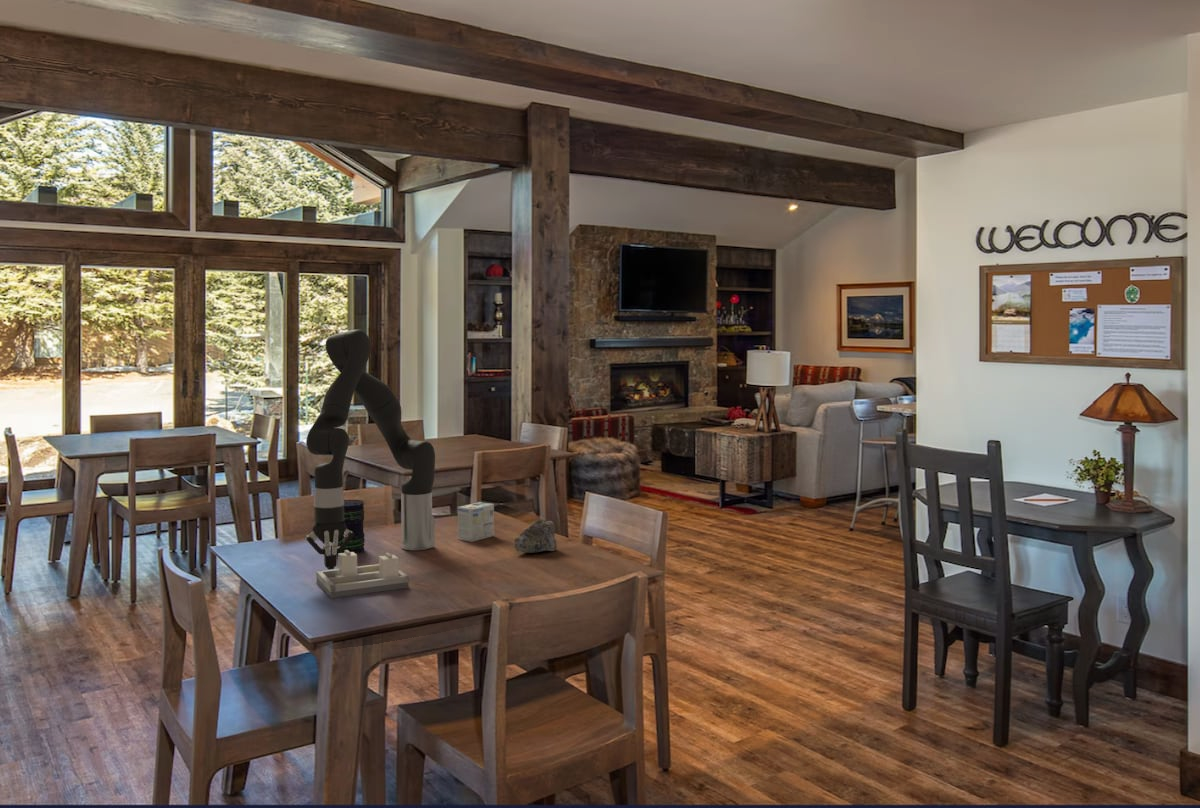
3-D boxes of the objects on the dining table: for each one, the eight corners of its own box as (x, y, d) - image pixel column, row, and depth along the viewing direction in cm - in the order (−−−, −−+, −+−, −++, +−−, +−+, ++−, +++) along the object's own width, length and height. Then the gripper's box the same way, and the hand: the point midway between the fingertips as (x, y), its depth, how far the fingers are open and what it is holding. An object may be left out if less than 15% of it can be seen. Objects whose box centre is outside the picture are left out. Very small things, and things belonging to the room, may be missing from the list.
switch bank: (390, 573, 256) (390, 562, 256) (408, 587, 242) (408, 576, 242) (316, 582, 246) (316, 571, 246) (330, 598, 233) (330, 586, 232)
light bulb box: (479, 533, 306) (479, 501, 305) (495, 536, 302) (494, 503, 301) (456, 539, 298) (456, 506, 297) (472, 542, 294) (472, 508, 293)
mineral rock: (514, 556, 276) (514, 523, 275) (514, 547, 287) (514, 515, 286) (557, 555, 277) (557, 522, 277) (556, 547, 288) (556, 515, 287)
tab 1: (353, 573, 249) (353, 548, 249) (357, 577, 246) (357, 552, 245) (338, 575, 247) (338, 550, 247) (342, 579, 244) (341, 553, 243)
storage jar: (324, 553, 278) (323, 504, 277) (344, 546, 287) (344, 498, 286) (351, 556, 274) (350, 506, 273) (371, 549, 283) (370, 501, 282)
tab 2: (394, 576, 246) (393, 551, 246) (398, 580, 243) (398, 554, 242) (379, 578, 244) (378, 553, 244) (383, 582, 241) (383, 556, 240)
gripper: (350, 499, 249) (352, 562, 251) (300, 503, 243) (301, 568, 244) (358, 504, 243) (359, 569, 244) (306, 508, 236) (307, 575, 238)
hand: (330, 568), depth 244 cm, fingers closed
